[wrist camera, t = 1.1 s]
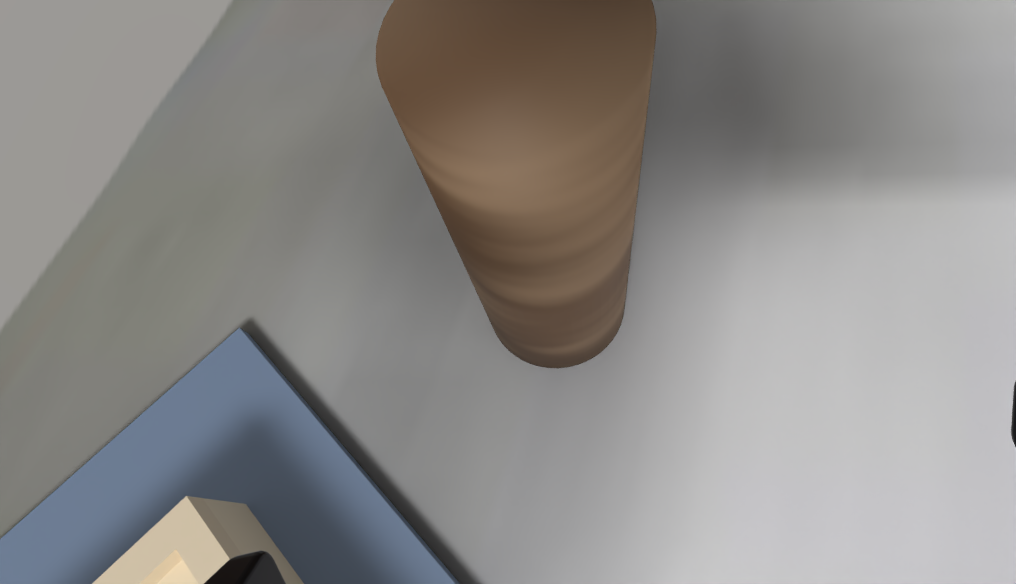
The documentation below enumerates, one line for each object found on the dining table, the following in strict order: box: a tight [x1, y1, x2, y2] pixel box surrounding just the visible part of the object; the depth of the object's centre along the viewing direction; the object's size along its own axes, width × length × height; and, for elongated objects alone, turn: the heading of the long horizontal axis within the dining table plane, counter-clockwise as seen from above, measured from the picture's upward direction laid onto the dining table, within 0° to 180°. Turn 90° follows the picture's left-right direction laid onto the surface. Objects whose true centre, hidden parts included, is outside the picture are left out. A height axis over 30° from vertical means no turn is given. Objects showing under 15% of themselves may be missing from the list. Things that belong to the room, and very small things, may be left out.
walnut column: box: [376, 0, 656, 368], centre depth 17 cm, size 5×5×13 cm
